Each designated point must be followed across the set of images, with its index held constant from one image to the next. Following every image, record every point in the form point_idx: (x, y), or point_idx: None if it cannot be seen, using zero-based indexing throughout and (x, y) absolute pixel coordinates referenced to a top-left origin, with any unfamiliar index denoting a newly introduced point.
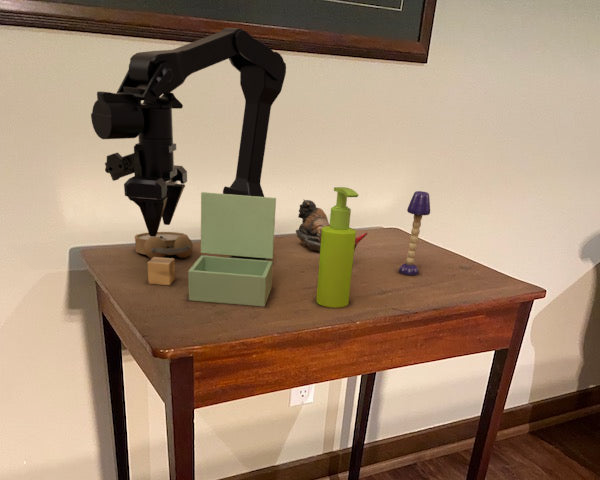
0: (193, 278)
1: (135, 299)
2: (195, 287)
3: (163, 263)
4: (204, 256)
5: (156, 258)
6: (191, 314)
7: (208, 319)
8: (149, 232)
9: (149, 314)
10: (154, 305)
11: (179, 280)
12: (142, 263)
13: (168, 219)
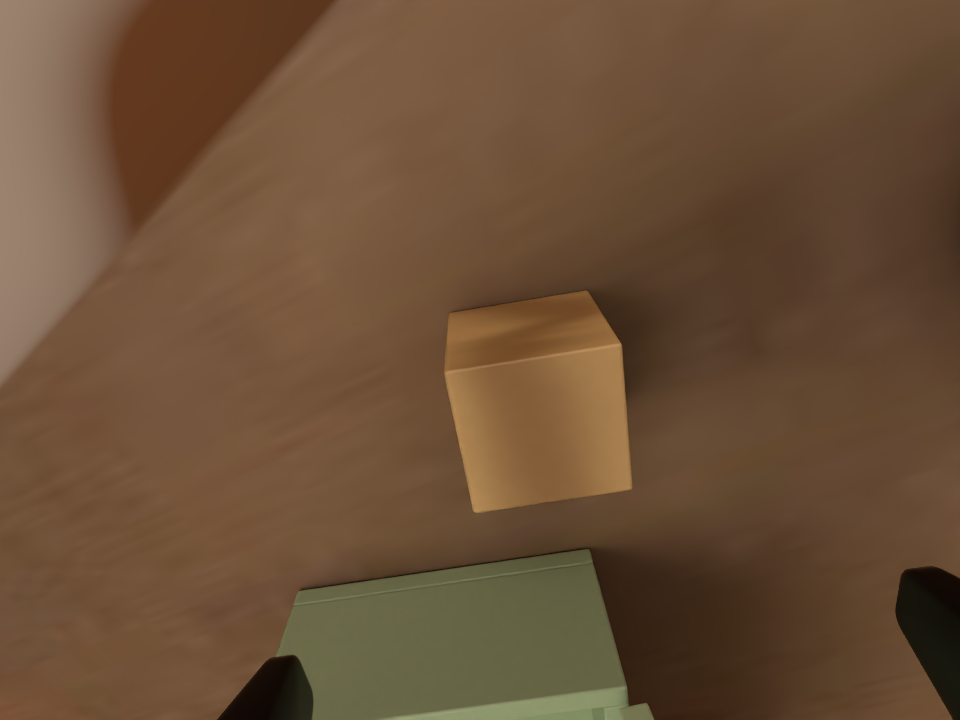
0: None
1: (154, 371)
2: None
3: (476, 477)
4: (603, 709)
5: (581, 384)
6: (144, 652)
7: (138, 714)
8: (243, 699)
9: (18, 520)
10: (138, 490)
11: None
12: (916, 36)
13: (946, 672)
